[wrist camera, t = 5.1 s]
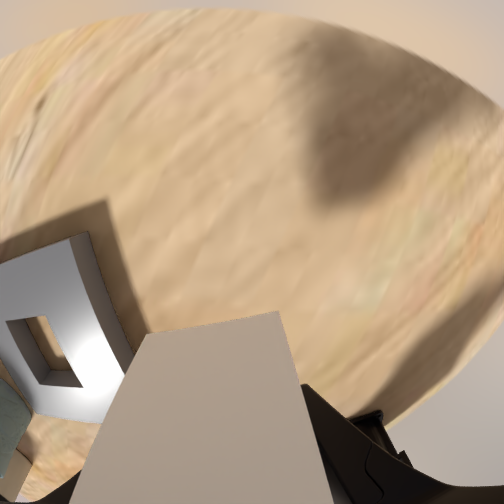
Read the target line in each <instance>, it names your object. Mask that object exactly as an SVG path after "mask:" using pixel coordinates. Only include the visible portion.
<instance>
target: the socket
mask: <svg viewBox="0 0 504 504" xmlns="http://www.w3.org/2000/svg"><path fill="white" fill-rule="evenodd" d="M44 315H45V316H46V318H47V320H48V322H49V325H50V327H51V329H52V331H53V333H54V335H55V337H56V339H57V341H58V343H59V345H60V347H61V349H62V351H63V353H64V355H65V357H66V358H67V360H68V362H69V364H70V366H71V367H72V369H73V371H58V370H51V369H50V368H49V366H48V364H47V362H46V361H45V359H44V357H43V355H42V353H41V352H40V350H39V348H38V346H37V344H36V342H35V340H34V338H33V336H32V334H31V332H30V330H29V328H28V325H27V323H26V321H25V319H24V318H30V317H37V316H44ZM134 357H135V356H134V354H133V351H132V349H131V347H130V345H129V343H128V341H127V339H126V336H125V334H124V332H123V330H122V327H121V325H120V323H119V320H118V318H117V315H116V313H115V310H114V308H113V305H112V303H111V300H110V298H109V295H108V292H107V290H106V287H105V284H104V281H103V278H102V276H101V273H100V270H99V267H98V264H97V260H96V257H95V254H94V251H93V247H92V244H91V241H90V237H89V233H88V231H87V232H84V233H81V234H78V235H75V236H72V237H69V238H66V239H63V240H60V241H57V242H54V243H52V244H49V245H46V246H43V247H41V248H38V249H35V250H33V251H30V252H27V253H25V254H22V255H19V256H17V257H14V258H12V259H9V260H7V261H4V262H2V263H0V358H1V360H2V362H3V364H4V365H5V367H6V369H7V371H8V372H9V374H10V376H11V377H12V379H13V380H14V382H15V384H16V385H17V387H18V388H19V390H20V391H21V393H22V394H23V396H24V397H25V398H26V400H27V401H28V403H29V404H30V405H31V407H32V408H33V409H34V411H35V412H36V413H37V414H41V415H45V416H50V417H56V418H61V419H67V420H74V421H81V422H89V423H98V424H102V422H103V420H104V418H105V416H106V414H107V411H108V409H109V407H110V405H111V403H112V401H113V399H114V397H115V395H116V393H117V391H118V388H119V386H120V384H121V382H122V380H123V378H124V376H125V374H126V372H127V370H128V368H129V366H130V364H131V363H132V361H133V359H134Z"/></svg>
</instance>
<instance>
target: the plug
mask: <svg viewBox="0 0 504 504" xmlns="http://www.w3.org/2000/svg"><path fill="white" fill-rule="evenodd" d="M69 504H334V502H333V499H332V495H331V491H330V488H329V484H328V481H327V477H326V473H325V470H324V466H323V463H322V459H321V456H320V452H319V448H318V445H317V441H316V438H315V434H314V431H313V427H312V424H311V420H310V417H309V413H308V410H307V406H306V403H305V400H304V396H303V393H302V389H301V386H300V382H299V379H298V375H297V372H296V369H295V365H294V362H293V358H292V355H291V351H290V348H289V345H288V341H287V338H286V335H285V331H284V328H283V324H282V321H281V318H280V314H279V311H274V312H270V313H265V314H260V315H256V316H251V317H246V318H241V319H236V320H230V321H225V322H220V323H214V324H208V325H203V326H197V327H191V328H184V329H178V330H171V331H165V332H158V333H150V334H146V336H145V338H144V340H143V341H142V343H141V345H140V347H139V349H138V351H137V353H136V355H135V357H134V359H133V361H132V363H131V364H130V366H129V368H128V370H127V372H126V374H125V376H124V378H123V380H122V382H121V384H120V386H119V388H118V391H117V393H116V395H115V397H114V399H113V401H112V403H111V405H110V407H109V409H108V411H107V414H106V416H105V418H104V420H103V422H102V424H101V427H100V429H99V431H98V433H97V436H96V438H95V440H94V442H93V445H92V447H91V449H90V452H89V454H88V456H87V459H86V461H85V464H84V466H83V468H82V471H81V473H80V476H79V478H78V481H77V484H76V486H75V489H74V491H73V494H72V497H71V499H70V502H69Z"/></svg>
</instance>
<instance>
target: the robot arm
mask: <svg viewBox="0 0 504 504" xmlns="http://www.w3.org/2000/svg"><path fill="white" fill-rule="evenodd" d="M300 386H301V389H302V393H303V396H304V400H305V403H306V406H307V410H308V413H309V417H310V420H311V424H312V427H313V431H314V434H315V438H316V441H317V445H318V448H319V452H320V456H321V459H322V463H323V466H324V470H325V473H326V477H327V481H328V484H329V488H330V491H331V495H332V499H333V502H334V504H504V485H501V486H480V487H463V486H453V485H449V484H445V483H442V482H440V481H438V480H436V479H434V478H432V477H429V476H428V475H426V474H424V473H422V472H420V471H418V470H416V469H414V468H413V466H412V464H411V462H410V460H409V458H408V456H407V455H406V453H405V451H404V450H403V451H402V452H400V453H399V454H397V451H396V450H395V448H394V446H393V444H392V442H391V440H390V438H389V436H388V434H387V432H386V430H385V428H384V427H383V425H382V419H383V412H382V411H381V410H379V411H376V412H373V413H371V414H368V415H365V416H362V417H359V418H356V419H353V420H350V421H348V420H347V419H346V418H345V417H344V416H343V415H341V414H340V413H339V412H338V411H337V410H336V409H334V408H333V407H332V406H331V405H330V404H329V403H328V402H327V401H325V400H324V399H323V398H322V397H321V396H320V395H319V394H318V393H317V392H315V391H314V390H313V389H312V388H311V387H310V386H309V385H308V384H302V385H300ZM81 471H82V469H81V470H80V471H79V472H78V473H77V474H76V475H74V476H73V477H72V478H71V479H69V480H68V481H67V482H65V483H64V484H63V485H61V486H60V487H58V488H57V489H56V490H54V491H53V492H51V493H50V494H48V495H47V496H45V497H44V498H42V499H40V500H38V501H35V502H29V503H21V502H2V501H0V504H69V502H70V499H71V497H72V494H73V491H74V489H75V486H76V484H77V481H78V478H79V476H80V473H81Z"/></svg>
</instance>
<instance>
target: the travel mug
mask: <svg viewBox="0 0 504 504" xmlns="http://www.w3.org/2000/svg"><path fill="white" fill-rule="evenodd" d="M31 467H32V465H31V463H30V462H29V460H28V459H27V458H26V457H25V456H24V455H23V454H22V453H21V452H19V451H18V450H17V449H15V450H14V451H13V456H12V458H11V460H10V462H9V465H8V468H7V471H6V473H5V476H4V478H0V501H2V502H15V500H16V498H17V496H18V493H19V491H20V489H21V487H22V485H23V483H24V481H25V479H26V477H27V475H28V473H29V471H30V469H31Z"/></svg>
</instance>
